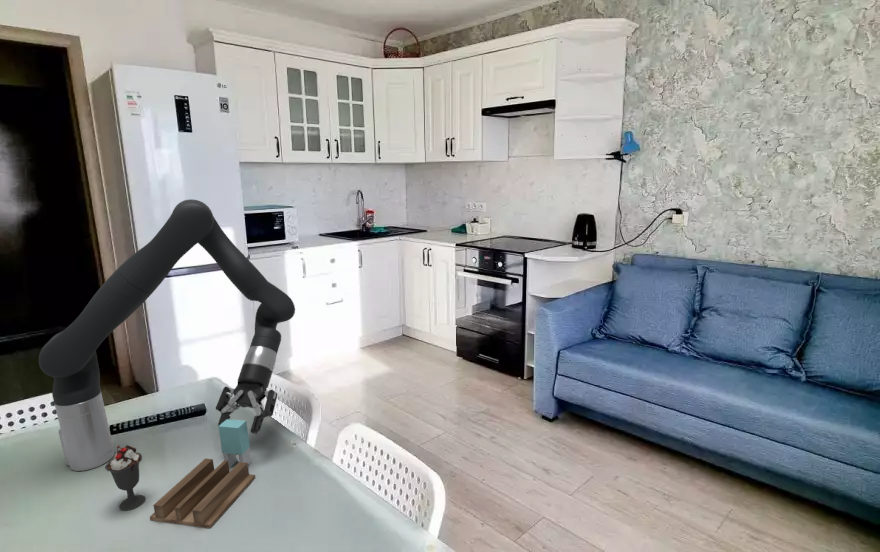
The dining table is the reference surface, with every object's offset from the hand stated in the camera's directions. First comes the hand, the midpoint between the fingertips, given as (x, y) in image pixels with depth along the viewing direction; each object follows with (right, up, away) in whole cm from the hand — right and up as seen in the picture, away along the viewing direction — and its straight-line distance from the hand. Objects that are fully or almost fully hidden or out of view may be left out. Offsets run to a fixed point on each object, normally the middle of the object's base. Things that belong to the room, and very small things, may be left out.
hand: (237, 431), depth 118 cm
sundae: (-18, -12, -12) cm, 24 cm away
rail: (-2, -11, -11) cm, 16 cm away
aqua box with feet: (0, -8, 0) cm, 8 cm away
